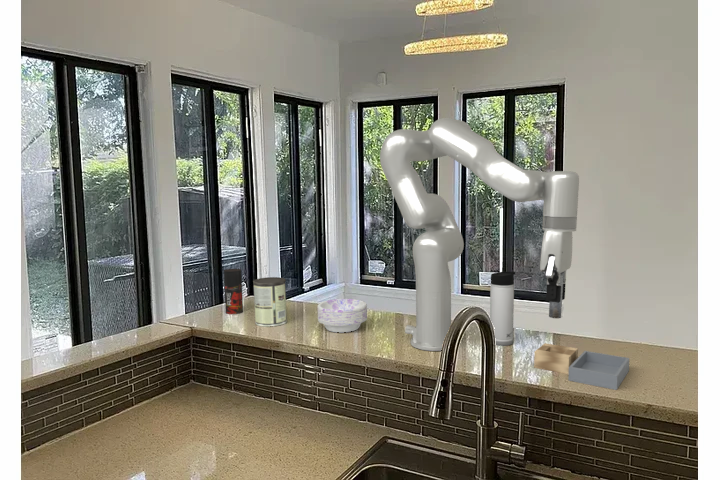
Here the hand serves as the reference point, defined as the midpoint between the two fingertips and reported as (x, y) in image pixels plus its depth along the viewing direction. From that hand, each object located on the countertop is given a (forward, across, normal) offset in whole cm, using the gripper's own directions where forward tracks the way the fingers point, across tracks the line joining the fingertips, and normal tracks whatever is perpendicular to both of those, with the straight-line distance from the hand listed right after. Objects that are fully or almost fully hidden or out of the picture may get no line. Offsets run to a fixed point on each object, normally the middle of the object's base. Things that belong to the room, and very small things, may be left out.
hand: (555, 299), depth 130 cm
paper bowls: (+18, +2, -63) cm, 66 cm away
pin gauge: (+4, 0, 0) cm, 4 cm away
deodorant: (+19, +6, -108) cm, 110 cm away
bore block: (+16, 0, +1) cm, 16 cm away
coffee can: (+19, +9, -87) cm, 89 cm away
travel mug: (+17, -11, -17) cm, 26 cm away
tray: (+16, +1, +11) cm, 20 cm away
